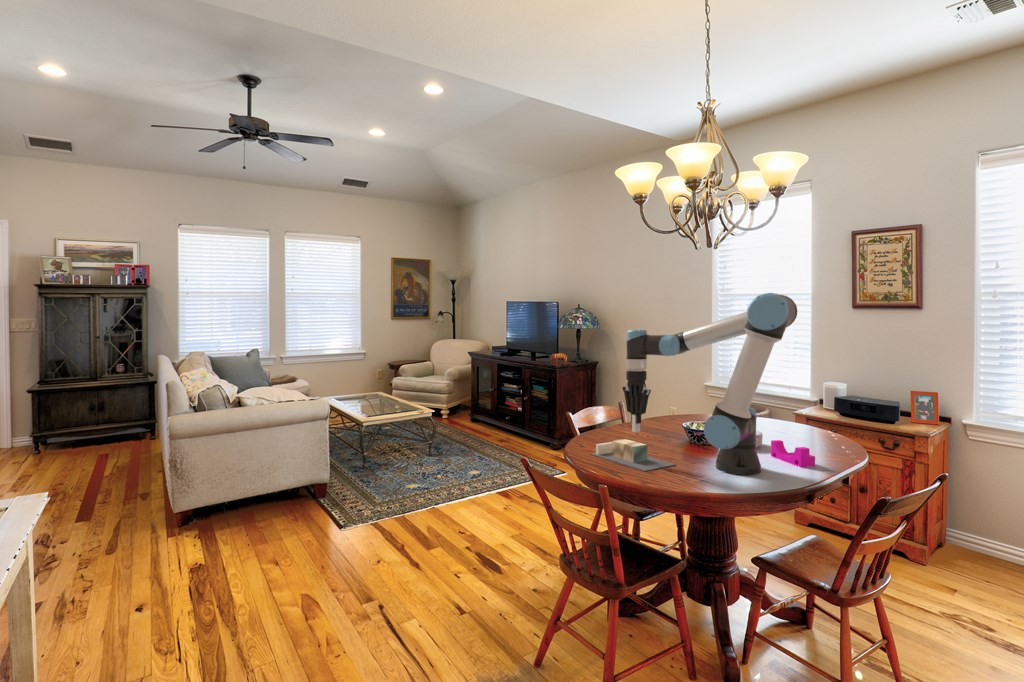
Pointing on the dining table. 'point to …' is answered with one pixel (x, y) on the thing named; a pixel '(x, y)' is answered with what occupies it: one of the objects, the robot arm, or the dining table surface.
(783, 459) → the toy block
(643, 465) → the gray ramp
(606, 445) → the stop rail
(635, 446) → the beech block
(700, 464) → the dining table surface
